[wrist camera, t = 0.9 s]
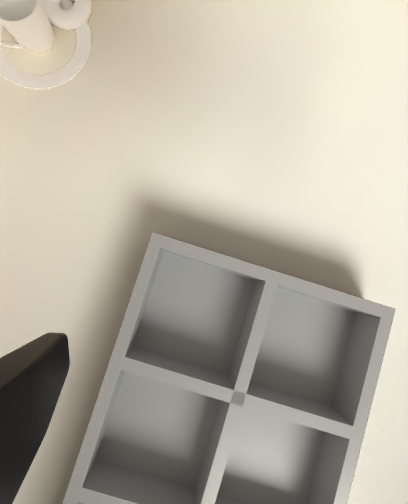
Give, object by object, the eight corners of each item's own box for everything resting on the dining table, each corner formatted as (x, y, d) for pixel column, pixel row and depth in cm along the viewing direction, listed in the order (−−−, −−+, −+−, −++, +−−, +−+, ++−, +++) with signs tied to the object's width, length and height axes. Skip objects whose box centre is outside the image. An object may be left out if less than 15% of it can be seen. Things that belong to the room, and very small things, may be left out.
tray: (276, 645, 22) (293, 715, 18) (45, 579, 21) (17, 639, 18) (364, 304, 24) (395, 309, 20) (157, 238, 23) (152, 231, 20)
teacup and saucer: (86, -17, 25) (67, -74, 21) (116, 75, 25) (101, 34, 21) (-24, 10, 24) (-66, -43, 20) (4, 104, 24) (-33, 69, 20)
